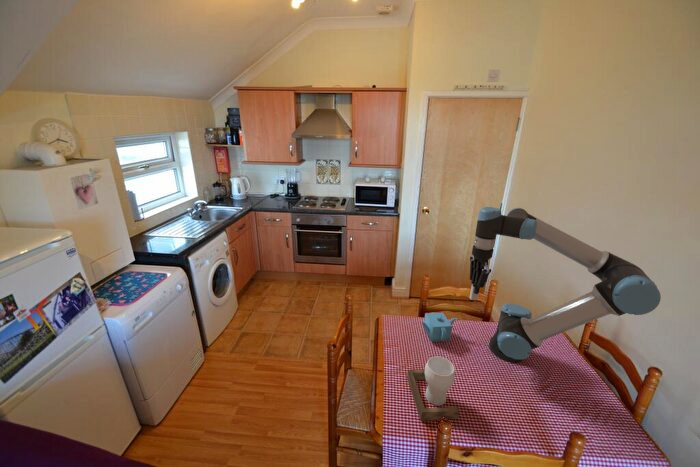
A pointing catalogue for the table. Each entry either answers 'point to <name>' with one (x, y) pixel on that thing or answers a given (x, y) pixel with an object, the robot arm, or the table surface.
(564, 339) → the table surface
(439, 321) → the teapot
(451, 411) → the wooden u-shaped bracket
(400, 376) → the table surface
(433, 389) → the cup
